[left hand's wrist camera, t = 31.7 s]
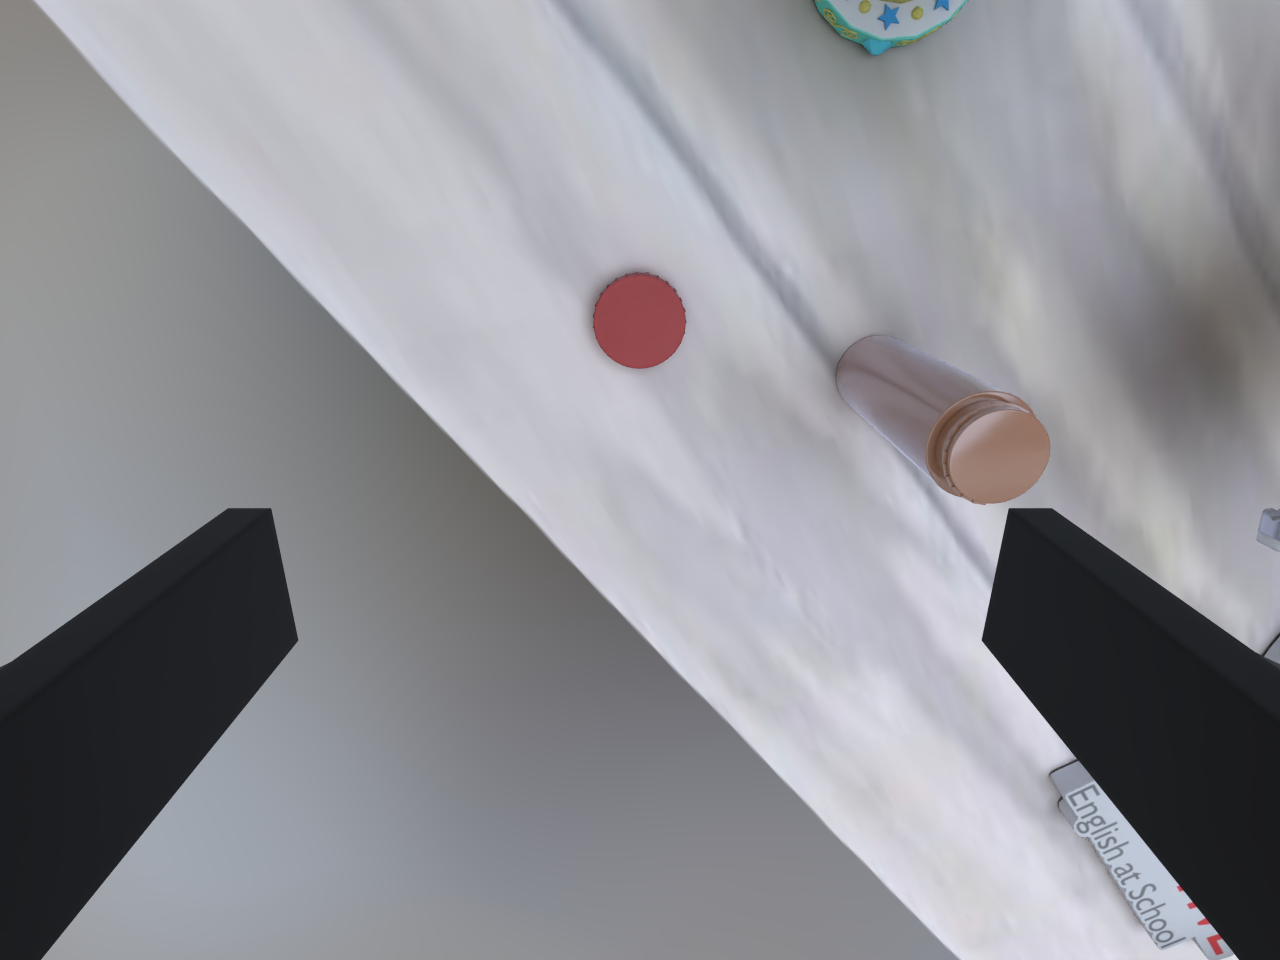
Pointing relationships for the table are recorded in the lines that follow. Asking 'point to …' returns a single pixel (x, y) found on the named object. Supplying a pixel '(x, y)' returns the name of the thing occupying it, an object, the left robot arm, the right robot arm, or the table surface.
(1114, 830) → the decorative sign
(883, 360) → the jar
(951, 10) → the decorative hourglass
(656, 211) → the table surface
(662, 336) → the lid
